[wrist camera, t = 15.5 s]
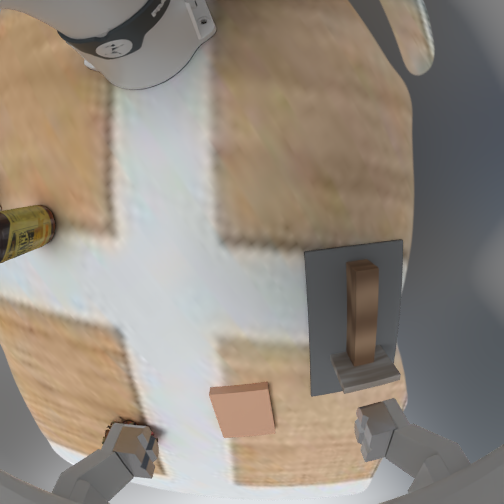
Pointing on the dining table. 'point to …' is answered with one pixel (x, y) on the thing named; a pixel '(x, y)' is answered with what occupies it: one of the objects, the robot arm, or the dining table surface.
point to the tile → (243, 409)
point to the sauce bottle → (24, 230)
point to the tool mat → (335, 304)
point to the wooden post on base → (362, 333)
